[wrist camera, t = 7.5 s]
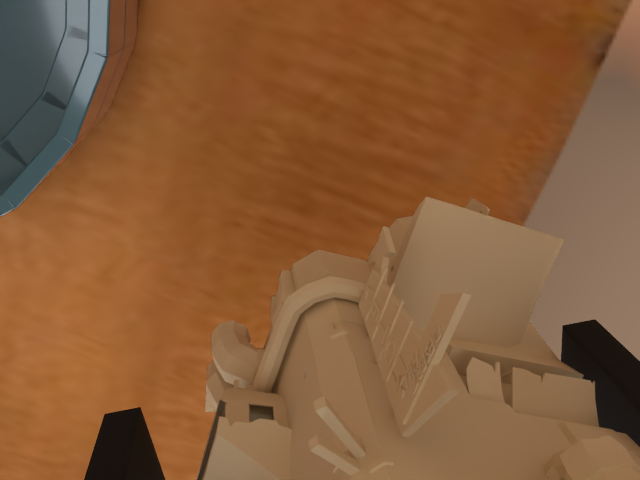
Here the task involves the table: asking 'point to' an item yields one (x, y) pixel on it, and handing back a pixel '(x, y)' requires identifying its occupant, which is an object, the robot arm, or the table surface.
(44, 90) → the shallow teal bowl
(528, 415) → the robot
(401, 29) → the table surface
